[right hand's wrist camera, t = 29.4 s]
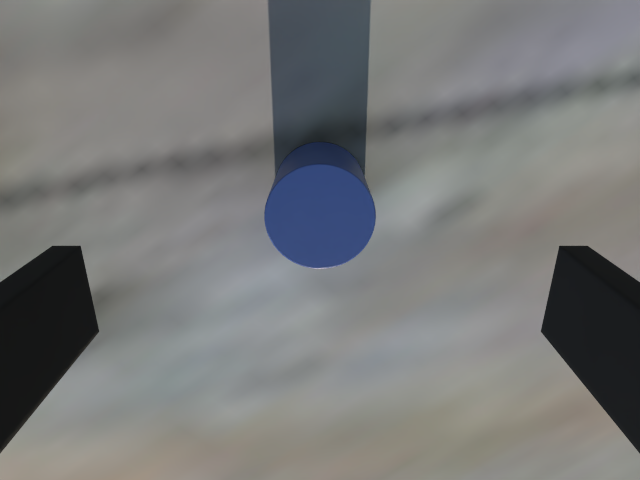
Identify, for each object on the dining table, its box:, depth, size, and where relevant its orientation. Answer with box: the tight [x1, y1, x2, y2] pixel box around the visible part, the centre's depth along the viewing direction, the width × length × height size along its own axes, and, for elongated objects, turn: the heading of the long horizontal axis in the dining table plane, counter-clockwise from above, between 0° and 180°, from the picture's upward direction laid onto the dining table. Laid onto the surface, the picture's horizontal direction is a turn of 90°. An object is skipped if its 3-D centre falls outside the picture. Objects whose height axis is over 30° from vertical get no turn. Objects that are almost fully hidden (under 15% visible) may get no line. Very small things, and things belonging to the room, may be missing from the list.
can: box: [265, 142, 376, 269], centre depth 20 cm, size 4×4×5 cm
